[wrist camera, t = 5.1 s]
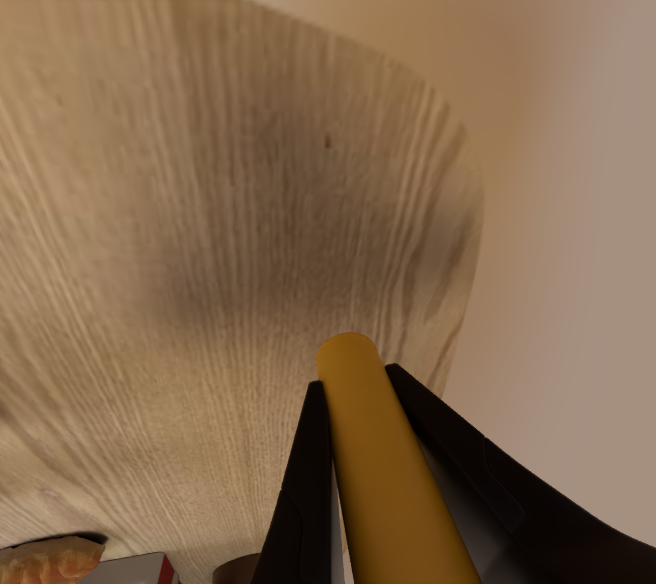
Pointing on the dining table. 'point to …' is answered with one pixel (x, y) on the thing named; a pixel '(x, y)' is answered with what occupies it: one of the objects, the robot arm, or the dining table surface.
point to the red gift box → (133, 571)
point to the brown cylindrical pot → (236, 571)
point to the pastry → (50, 561)
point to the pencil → (385, 476)
